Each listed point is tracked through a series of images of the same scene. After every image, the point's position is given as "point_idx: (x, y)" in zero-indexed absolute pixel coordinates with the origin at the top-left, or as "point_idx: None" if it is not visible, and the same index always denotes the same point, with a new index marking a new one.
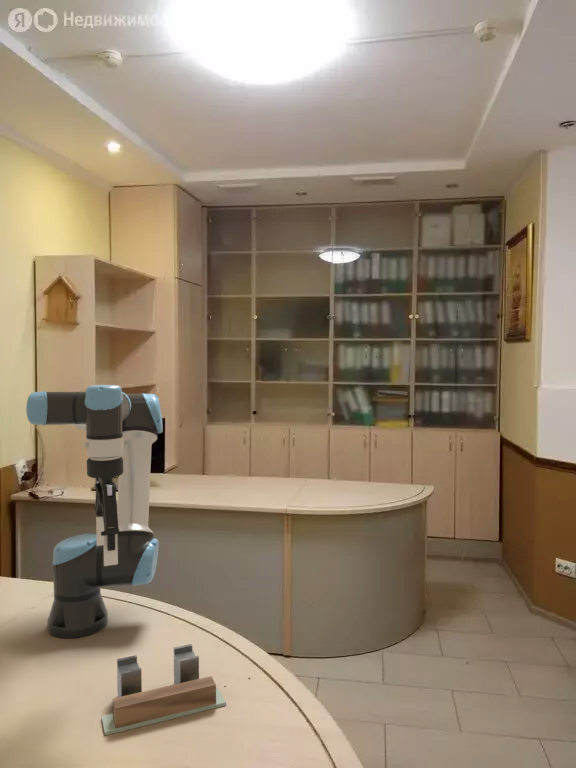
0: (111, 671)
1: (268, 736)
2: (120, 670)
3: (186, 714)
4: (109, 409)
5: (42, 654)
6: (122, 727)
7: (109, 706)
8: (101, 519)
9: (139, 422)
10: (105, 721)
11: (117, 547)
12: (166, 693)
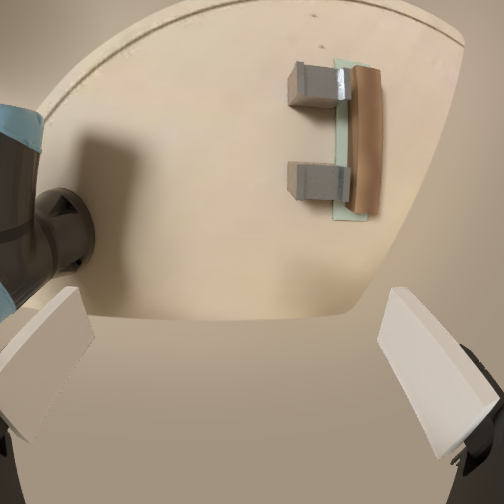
0: (208, 189)
1: (428, 62)
2: (320, 197)
3: None
4: None
5: (129, 279)
6: None
7: (305, 204)
8: (20, 414)
9: None
10: (347, 217)
11: (450, 337)
12: (375, 138)
